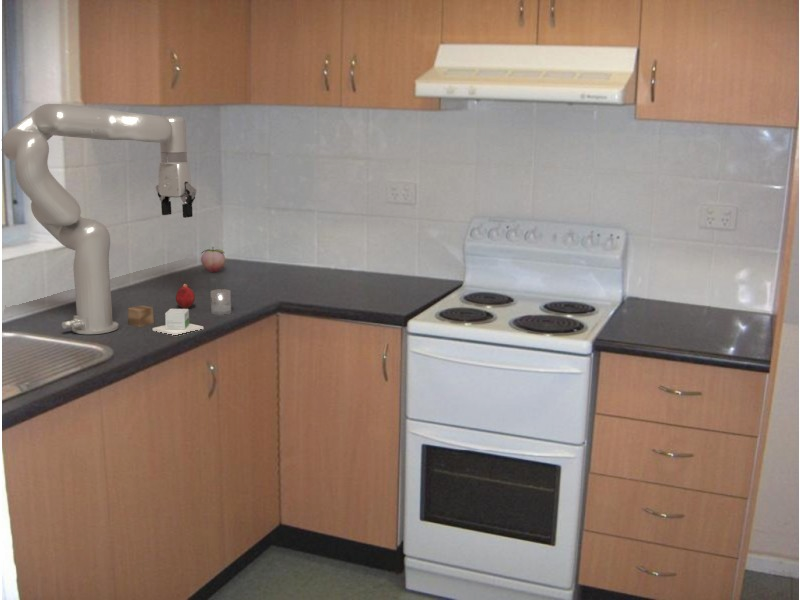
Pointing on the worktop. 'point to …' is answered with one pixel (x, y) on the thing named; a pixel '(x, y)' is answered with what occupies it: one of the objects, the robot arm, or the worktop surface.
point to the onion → (185, 297)
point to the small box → (177, 319)
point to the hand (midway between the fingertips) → (177, 215)
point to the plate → (175, 332)
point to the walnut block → (140, 316)
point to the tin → (220, 302)
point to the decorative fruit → (213, 259)
